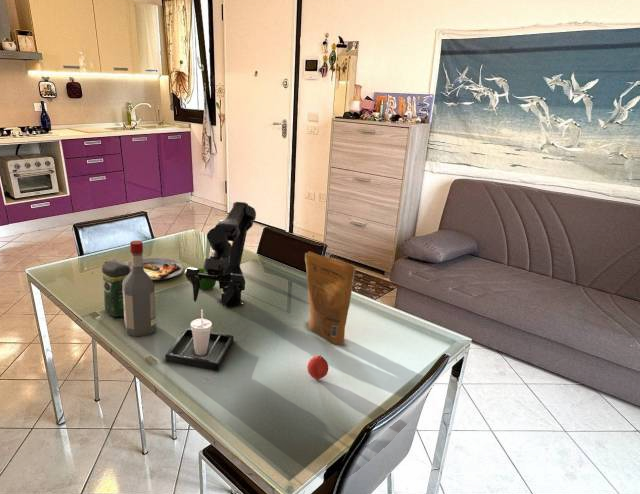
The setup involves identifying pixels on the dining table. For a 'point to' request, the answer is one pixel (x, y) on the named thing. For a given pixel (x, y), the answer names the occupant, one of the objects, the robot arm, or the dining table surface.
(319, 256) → the pancake mix bag
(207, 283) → the bell pepper
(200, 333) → the smoothie
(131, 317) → the liquor
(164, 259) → the food plate
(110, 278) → the coffee jar
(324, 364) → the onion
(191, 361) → the divided serving tray
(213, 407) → the dining table surface
